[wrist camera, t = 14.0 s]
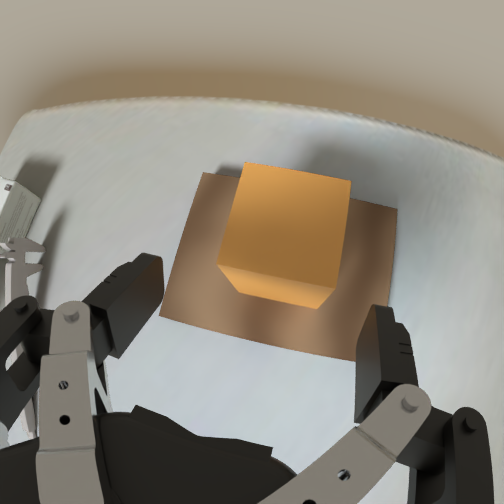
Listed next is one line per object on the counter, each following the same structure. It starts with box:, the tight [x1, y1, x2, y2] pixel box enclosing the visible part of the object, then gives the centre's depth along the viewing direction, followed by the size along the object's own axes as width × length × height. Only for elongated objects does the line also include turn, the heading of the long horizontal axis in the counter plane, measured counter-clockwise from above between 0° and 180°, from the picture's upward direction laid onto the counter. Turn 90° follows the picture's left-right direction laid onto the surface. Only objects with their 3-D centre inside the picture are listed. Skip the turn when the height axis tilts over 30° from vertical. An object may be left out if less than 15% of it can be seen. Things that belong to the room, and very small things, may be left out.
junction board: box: [159, 172, 397, 362], centre depth 24 cm, size 16×12×2 cm
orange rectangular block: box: [216, 162, 351, 309], centre depth 19 cm, size 6×6×8 cm
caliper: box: [0, 238, 46, 439], centre depth 22 cm, size 20×1×6 cm, turn 178°
